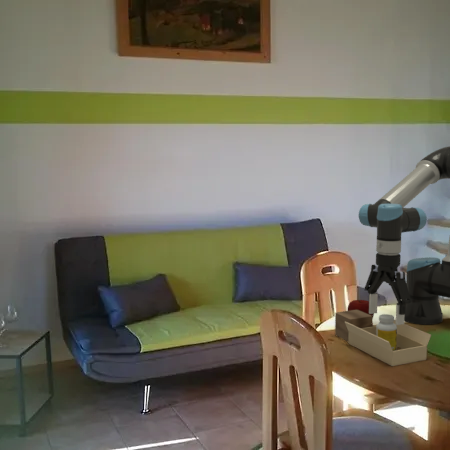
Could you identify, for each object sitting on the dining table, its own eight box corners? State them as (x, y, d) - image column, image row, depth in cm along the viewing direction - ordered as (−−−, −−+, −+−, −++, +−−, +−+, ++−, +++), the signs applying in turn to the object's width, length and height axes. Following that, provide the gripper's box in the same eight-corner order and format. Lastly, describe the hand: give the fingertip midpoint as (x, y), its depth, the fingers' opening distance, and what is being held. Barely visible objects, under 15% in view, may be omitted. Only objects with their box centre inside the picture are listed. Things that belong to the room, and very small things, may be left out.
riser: (356, 331, 225) (357, 309, 224) (372, 338, 217) (372, 316, 216) (335, 334, 222) (335, 312, 221) (350, 342, 214) (350, 319, 213)
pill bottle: (396, 355, 201) (397, 319, 200) (375, 354, 203) (376, 318, 201) (395, 348, 208) (396, 313, 206) (375, 347, 209) (376, 313, 207)
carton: (384, 337, 219) (384, 315, 218) (430, 358, 198) (431, 334, 197) (344, 344, 212) (344, 321, 211) (387, 366, 191) (388, 341, 190)
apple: (364, 321, 237) (365, 295, 235) (379, 328, 228) (380, 301, 227) (342, 324, 234) (342, 298, 232) (356, 332, 225) (356, 304, 223)
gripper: (355, 247, 210) (353, 310, 213) (404, 260, 188) (401, 330, 190) (373, 246, 213) (371, 307, 216) (424, 259, 190) (421, 327, 193)
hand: (385, 318), depth 203 cm, fingers open, 13 cm apart
